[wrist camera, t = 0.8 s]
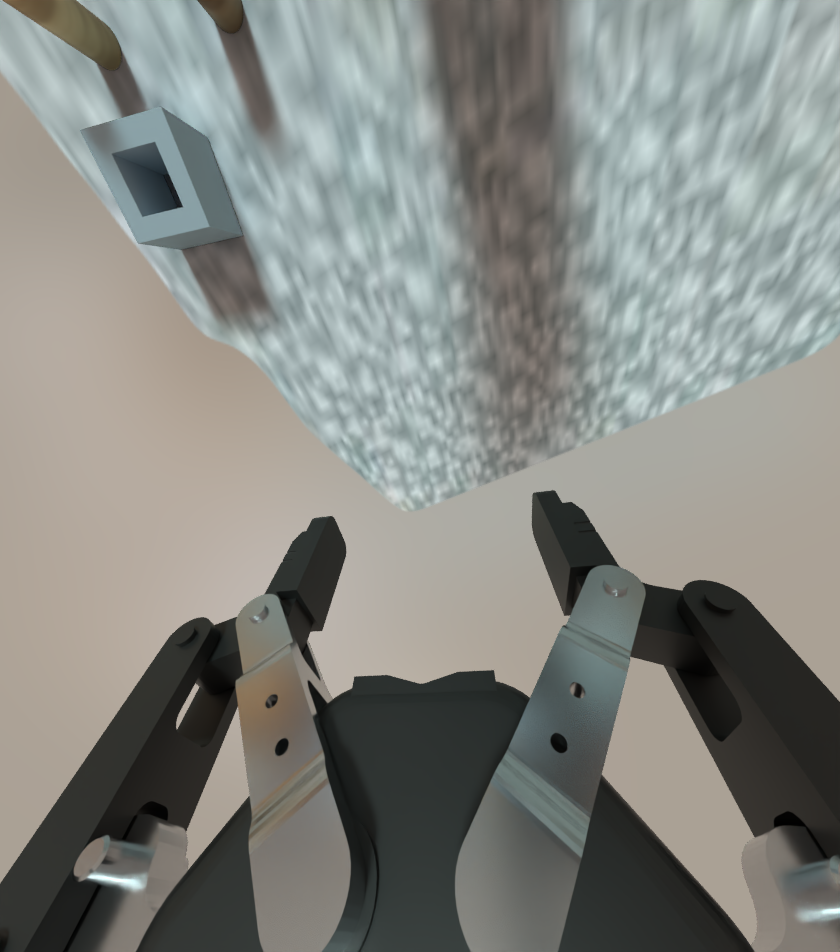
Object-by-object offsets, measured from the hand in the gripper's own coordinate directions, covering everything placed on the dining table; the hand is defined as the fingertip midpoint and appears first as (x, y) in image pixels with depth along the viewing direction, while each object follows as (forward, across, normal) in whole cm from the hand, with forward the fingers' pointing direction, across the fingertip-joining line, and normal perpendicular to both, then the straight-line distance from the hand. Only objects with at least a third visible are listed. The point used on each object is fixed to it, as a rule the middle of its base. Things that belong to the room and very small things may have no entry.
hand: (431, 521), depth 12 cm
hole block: (+26, +19, -18) cm, 37 cm away
